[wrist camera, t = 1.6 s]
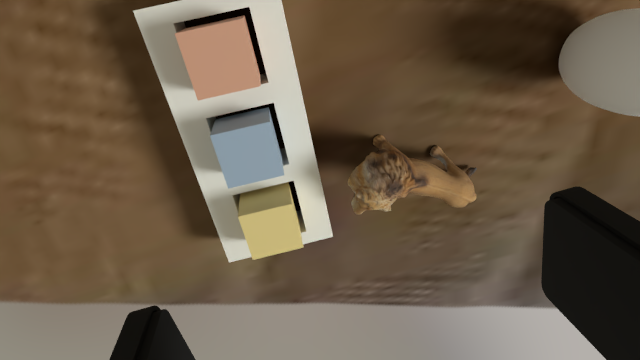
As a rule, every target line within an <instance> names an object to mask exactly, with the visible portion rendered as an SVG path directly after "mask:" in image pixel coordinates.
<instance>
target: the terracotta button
mask: <svg viewBox="0 0 640 360" xmlns="http://www.w3.org/2000/svg"><path fill="white" fill-rule="evenodd" d="M175 36H176V39H177V42H178V45H179V48H180V51H181V53H182V56H183V59H184V62H185V65H186V68H187V71H188V74H189V77H190V79H191V82H192V85H193V88H194V91H195V94H196V97H197V100H203V99H207V98H211V97H216V96H220V95H224V94H229V93H233V92H238V91H242V90H246V89H251V88H255V87H259V86H261V79H260V72H259V68H258V64H257V60H256V56H255V53H254V49H253V45H252V41H251V37H250V33H249V30H248V26H247V22H246V18H245V15H244V16H239V17H235V18H230V19H226V20H221V21H217V22H212V23H207V24H203V25H198V26H194V27H189V28H185V29H183V30H181V31H179V32H177V33H175Z"/></svg>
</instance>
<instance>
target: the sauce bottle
mask: <svg viewBox="0 0 640 360" xmlns="http://www.w3.org/2000/svg"><path fill="white" fill-rule="evenodd" d="M558 66H559V72H560V74H561V77H562V79H563V81H564V83H565V84H566V86H567V87H568V88H569V89H570V90H571V91H572V92H573V93H574V94H575V95H576V96H578V97H579V98H581V99H582V100H584V101H586V102H587V103H589V104H591V105H594V106H596V107H599V108H602V109H605V110H608V111H612V112H615V113H620V114H625V115H631V116H640V8H639V9H626V10H620V11H615V12H611V13H607V14H604V15H601V16H598V17H596V18H594V19H592V20H590V21H587V22H586V23H584V24H582V25H581V26H580V27H578V28H577V29H575V30H574V31H573V32H572V33H571V34H570V35H569V37H568V38H567V39H566V41H565V43H564V45H563V47H562V49H561V52H560V56H559V65H558Z"/></svg>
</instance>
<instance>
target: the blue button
mask: <svg viewBox="0 0 640 360" xmlns="http://www.w3.org/2000/svg"><path fill="white" fill-rule="evenodd" d="M210 137H211V140H212V143H213V146H214V149H215V152H216V155H217V158H218V160H219V163H220V166H221V169H222V172H223V175H224V178H225V181H226V184H227V186H228V189H229V188H233V187H237V186H242V185H246V184H250V183H254V182H258V181H263V180H267V179H271V178H275V177H279V176H283V175H284V170H283V162H282V156H281V152H280V148H279V144H278V140H277V136H276V133H275V129H274V125H273V121H272V117H271V114H270V110H269V107H267V108H262V109H258V110H254V111H249V112H245V113H241V114H236V115H232V116H228V117H223V118H219V119H215V122H214V125H213V128H212V131H211V134H210Z"/></svg>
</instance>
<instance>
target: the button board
mask: <svg viewBox="0 0 640 360" xmlns="http://www.w3.org/2000/svg"><path fill="white" fill-rule="evenodd" d="M246 7H249V8H250V12H251V16H252V20H253V24H254V27H255V31H256V35H257V39H258V43H259V47H260V51H261V55H262V59H263V63H264V67H265V71H266V73H265V74H261V75H260V79H261V86H259V87H255V88H251V89H246V90H242V91H238V92H233V93H229V94H224V95H220V96H216V97H211V98H207V99H203V100H197V97H196V94H195V91H194V88H193V85H192V82H191V79H190V77H189V74H188V71H187V68H186V65H185V62H184V59H183V56H182V53H181V51H180V48H179V45H178V42H177V39H176V36H175V33H177V32H179V31H181V30H183V29H185V28H186V27H185V24H184V21H187V20H192V19H197V18H201V17H206V16H210V15H215V14H219V13H224V12H228V11H233V10H237V9H242V8H246ZM133 12H134V15H135V18H136V20H137V23H138V25H139V28H140V31H141V33H142V36H143V38H144V41H145V44H146V46H147V49H148V52H149V54H150V57H151V59H152V62H153V65H154V67H155V70H156V72H157V75H158V78H159V80H160V83H161V86H162V88H163V91H164V93H165V96H166V99H167V101H168V104H169V106H170V109H171V112H172V114H173V117H174V119H175V122H176V125H177V127H178V130H179V133H180V135H181V138H182V140H183V143H184V146H185V148H186V151H187V153H188V156H189V159H190V161H191V164H192V167H193V169H194V172H195V174H196V177H197V180H198V182H199V185H200V187H201V190H202V193H203V195H204V198H205V200H206V203H207V206H208V208H209V211H210V214H211V216H212V219H213V221H214V224H215V227H216V229H217V232H218V234H219V237H220V240H221V242H222V245H223V248H224V250H225V253H226V255H227V258H228V261H229V262H233V261H237V260H241V259H245V258H249V257H252V256H251V253H250V250H249V247H248V244H247V241H246V239H245V236H244V233H243V230H242V227H241V224H240V221H239V218H238V211H239V201H240V194H241V193H244V192H248V191H253V190H257V189H261V188H265V187H269V186H273V185H278V184H282V183H286V182H290V181H294V184H295V188H296V192H297V196H298V200H299V204H300V208H301V210H299V211H296V213H297V217H298V220H299V225H300V231H301V236H302V242H303V244H306V243H310V242H314V241H318V240H322V239H326V238H330V237H333V234H332V230H331V225H330V221H329V216H328V212H327V207H326V202H325V198H324V193H323V189H322V184H321V180H320V175H319V170H318V166H317V161H316V157H315V152H314V147H313V143H312V138H311V134H310V129H309V125H308V120H307V115H306V111H305V106H304V102H303V97H302V93H301V88H300V83H299V79H298V74H297V70H296V65H295V60H294V56H293V51H292V47H291V42H290V38H289V33H288V28H287V24H286V19H285V15H284V10H283V6H282V1H281V0H180V1H176V2H171V3H166V4H162V5H157V6H153V7H148V8H144V9H139V10H134V11H133ZM271 103H274V106H275V110H276V114H277V118H278V122H279V126H280V129H281V133H282V137H283V141H284V145H285V148H282V149H280V152H281V156H282V162H283V170H284V175H283V176H279V177H275V178H271V179H267V180H263V181H258V182H254V183H250V184H246V185H242V186H237V187H233V188H229V189H228V186H227V184H226V181H225V178H224V175H223V172H222V169H221V166H220V163H219V160H218V158H217V155H216V152H215V149H214V146H213V143H212V140H211V137H210V134H211V131H212V128H213V125H214V122H215V119H216V117H215V116H219V115H223V114H228V113H232V112H236V111H240V110H245V109H249V108H253V107H258V106H262V105H266V104H271Z"/></svg>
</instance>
